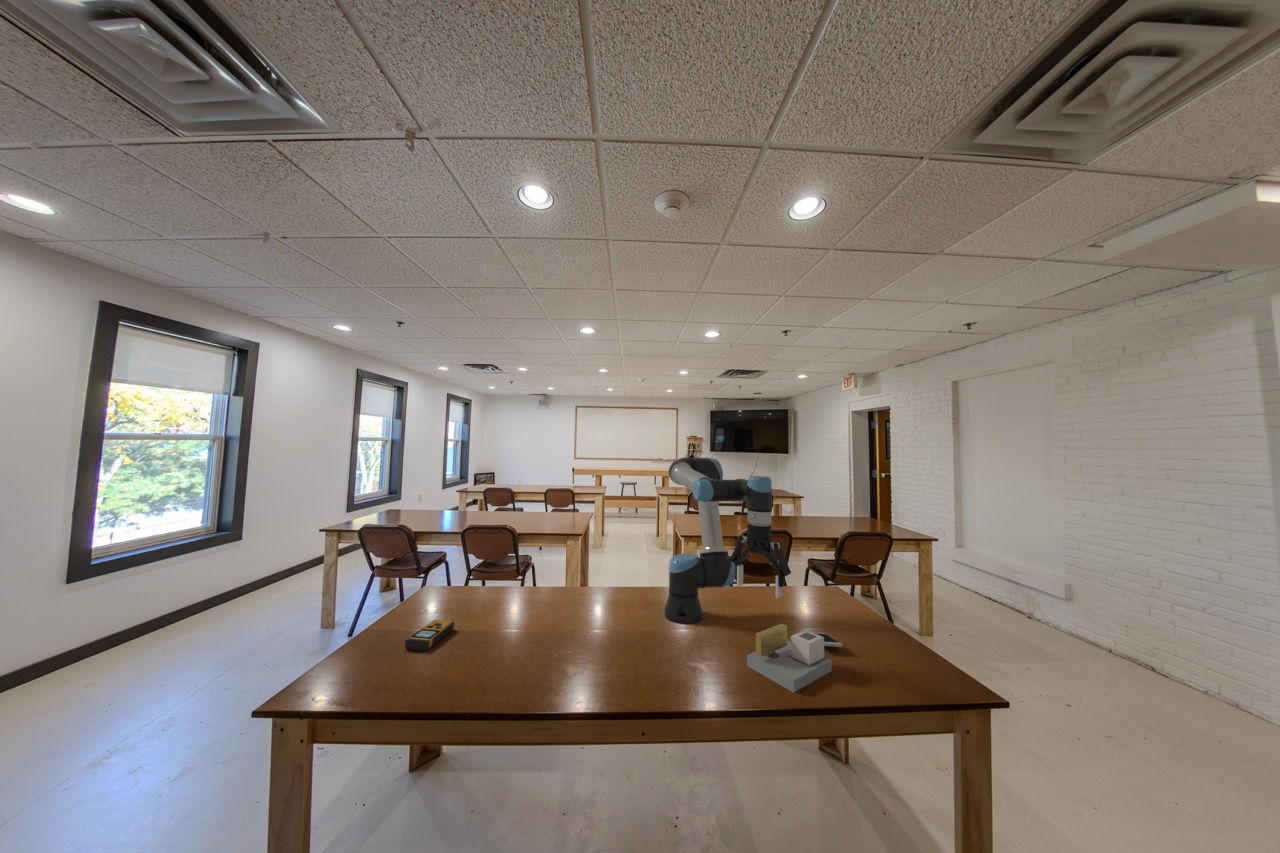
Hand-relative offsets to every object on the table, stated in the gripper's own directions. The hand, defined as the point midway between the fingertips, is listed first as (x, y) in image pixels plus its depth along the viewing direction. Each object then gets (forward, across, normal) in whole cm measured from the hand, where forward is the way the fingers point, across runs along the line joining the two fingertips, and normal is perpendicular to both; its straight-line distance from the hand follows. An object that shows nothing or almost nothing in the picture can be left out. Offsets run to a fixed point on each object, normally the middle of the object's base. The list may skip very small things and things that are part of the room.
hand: (758, 590), depth 127 cm
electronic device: (+23, -86, -67) cm, 111 cm away
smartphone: (+20, +15, +20) cm, 32 cm away
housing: (+21, +10, +1) cm, 23 cm away
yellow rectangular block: (+17, +5, -1) cm, 18 cm away
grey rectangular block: (+18, +13, +6) cm, 23 cm away
